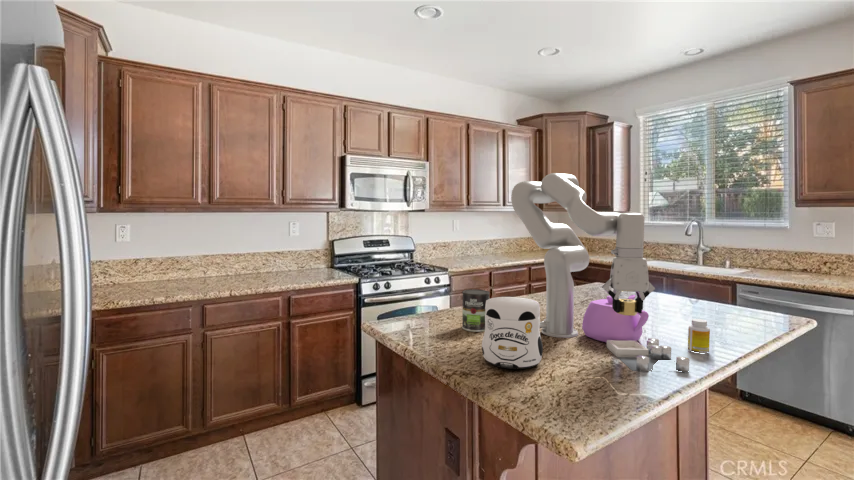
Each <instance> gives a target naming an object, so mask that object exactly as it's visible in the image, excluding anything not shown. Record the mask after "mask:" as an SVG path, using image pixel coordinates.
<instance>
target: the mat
mask: <svg viewBox="0 0 854 480" xmlns="http://www.w3.org/2000/svg"><path fill="white" fill-rule="evenodd" d="M614 356H615V357H617V356H616V355H614ZM617 359H619V360H620V361H621V362H622V363H623V364H624V365H625V366H626V367H628V368H629V370H631V371H632V372H639V371H638V370H637V369H636V364H637V357H617ZM657 361H658V360H654V359H651V354H649V371H651V372H652V370H653V365H654V364H655V363H656V362H657ZM651 369H652V370H651ZM649 371H648V372H649ZM648 372H647V373H648Z"/></svg>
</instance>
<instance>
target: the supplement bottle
mask: <svg viewBox="0 0 854 480" xmlns="http://www.w3.org/2000/svg"><path fill="white" fill-rule="evenodd" d="M710 332H711V330H710V327H709V326H708V322H707V320H705V319H701V318H691V324H689V325H688V330H687V335H688V336H687V351H688V350H690V351H694V352H699V353H707V352H709V353H710V335H711V333H710ZM690 351H689V352H690Z"/></svg>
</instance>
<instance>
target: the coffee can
mask: <svg viewBox="0 0 854 480" xmlns="http://www.w3.org/2000/svg"><path fill="white" fill-rule="evenodd" d="M461 293H462V317H461V318H462V320H461V322H462V325H461V326H462V327H461V328H462V329H463V330H464V331H466V332H472V333H473V332H475V333H483V332H485V305H486V300H488V299H490V293H491V292H490V291H489V290H485V289H465V290H463V291H462V292H461Z"/></svg>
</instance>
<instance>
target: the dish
mask: <svg viewBox="0 0 854 480" xmlns="http://www.w3.org/2000/svg"><path fill="white" fill-rule="evenodd" d="M606 349H607V350H608V351H610V352H611V353H612V354H613V355H614V356H615V355H616V356H615V357H616V358H618V357H637V356H646V357H649V350H648V349H647V347H646V346H644V345H643V344H641V343H639V342H638V340H637V341H631V340H607V342H606Z"/></svg>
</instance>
